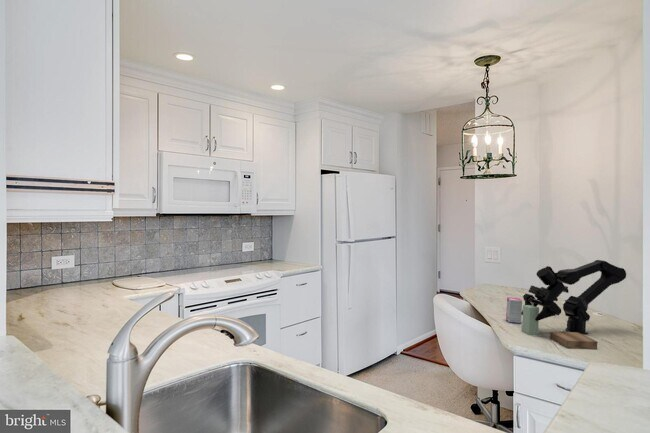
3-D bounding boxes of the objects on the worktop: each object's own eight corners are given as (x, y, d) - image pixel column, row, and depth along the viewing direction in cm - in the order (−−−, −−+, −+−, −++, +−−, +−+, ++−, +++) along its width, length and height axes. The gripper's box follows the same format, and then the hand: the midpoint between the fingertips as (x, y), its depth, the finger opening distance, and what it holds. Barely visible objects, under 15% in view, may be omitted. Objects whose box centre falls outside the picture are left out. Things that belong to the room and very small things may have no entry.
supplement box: (521, 324, 194) (522, 300, 194) (508, 323, 195) (509, 299, 195) (518, 320, 200) (519, 297, 200) (505, 320, 201) (506, 297, 201)
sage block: (531, 331, 182) (532, 305, 182) (538, 334, 178) (539, 307, 178) (522, 331, 181) (523, 305, 181) (528, 335, 177) (529, 307, 177)
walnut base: (578, 339, 173) (578, 332, 172) (597, 349, 161) (597, 341, 160) (550, 338, 173) (550, 331, 173) (566, 348, 161) (567, 340, 161)
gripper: (527, 276, 189) (504, 299, 187) (556, 283, 171) (531, 310, 169) (541, 292, 191) (519, 316, 189) (572, 302, 172) (547, 328, 171)
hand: (528, 317), depth 179 cm, fingers open, 9 cm apart
